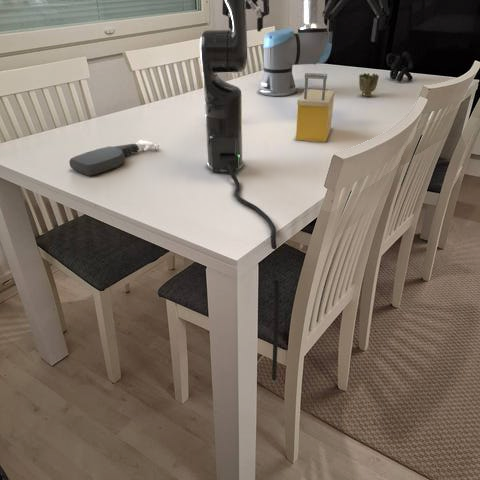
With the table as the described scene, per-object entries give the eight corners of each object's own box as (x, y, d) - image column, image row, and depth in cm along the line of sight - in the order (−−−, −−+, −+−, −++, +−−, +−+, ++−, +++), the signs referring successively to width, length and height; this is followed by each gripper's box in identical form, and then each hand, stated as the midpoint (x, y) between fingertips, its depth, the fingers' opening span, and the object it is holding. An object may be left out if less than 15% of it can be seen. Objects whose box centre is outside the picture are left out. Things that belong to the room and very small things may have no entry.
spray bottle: (67, 168, 120) (139, 144, 136) (91, 178, 114) (163, 151, 130) (65, 157, 118) (137, 134, 134) (89, 167, 112) (162, 142, 128)
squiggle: (400, 92, 202) (376, 71, 205) (417, 76, 202) (392, 56, 205) (405, 81, 191) (380, 59, 194) (423, 64, 191) (397, 42, 194)
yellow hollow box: (325, 142, 134) (328, 106, 128) (295, 139, 136) (297, 104, 131) (330, 128, 145) (334, 94, 139) (303, 126, 147) (305, 93, 141)
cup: (354, 97, 177) (357, 76, 172) (359, 92, 182) (362, 72, 178) (373, 99, 174) (376, 77, 169) (378, 94, 179) (381, 73, 175)
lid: (328, 106, 128) (331, 76, 123) (297, 104, 130) (298, 74, 126) (334, 94, 139) (336, 66, 134) (305, 92, 141) (307, 64, 137)
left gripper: (218, -30, 129) (220, 32, 138) (266, -31, 126) (265, 32, 134) (226, -30, 135) (227, 29, 144) (271, -31, 132) (270, 29, 140)
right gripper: (322, -39, 121) (316, 46, 132) (409, -40, 124) (396, 42, 135) (314, -39, 127) (309, 42, 139) (397, -40, 130) (386, 39, 141)
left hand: (245, 30), depth 139 cm, fingers open, 8 cm apart
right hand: (352, 42), depth 137 cm, fingers open, 13 cm apart
